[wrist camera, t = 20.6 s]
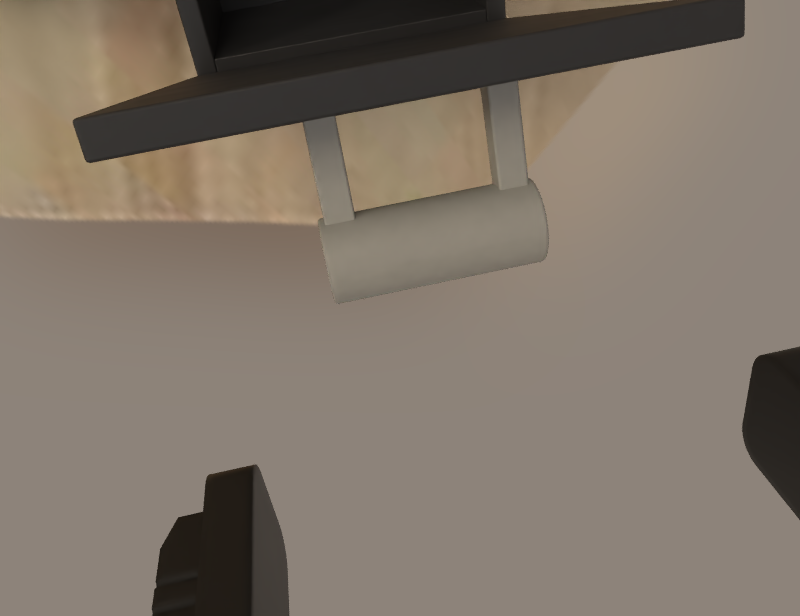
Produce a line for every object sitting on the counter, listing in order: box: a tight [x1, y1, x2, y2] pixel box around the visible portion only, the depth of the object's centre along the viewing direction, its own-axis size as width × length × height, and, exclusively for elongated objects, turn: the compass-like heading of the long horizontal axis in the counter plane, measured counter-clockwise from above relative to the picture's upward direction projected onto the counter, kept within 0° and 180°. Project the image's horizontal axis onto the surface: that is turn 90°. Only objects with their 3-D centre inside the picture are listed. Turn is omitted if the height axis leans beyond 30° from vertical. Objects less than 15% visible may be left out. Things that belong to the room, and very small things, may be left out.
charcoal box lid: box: [73, 0, 745, 304], centre depth 22 cm, size 16×13×5 cm
